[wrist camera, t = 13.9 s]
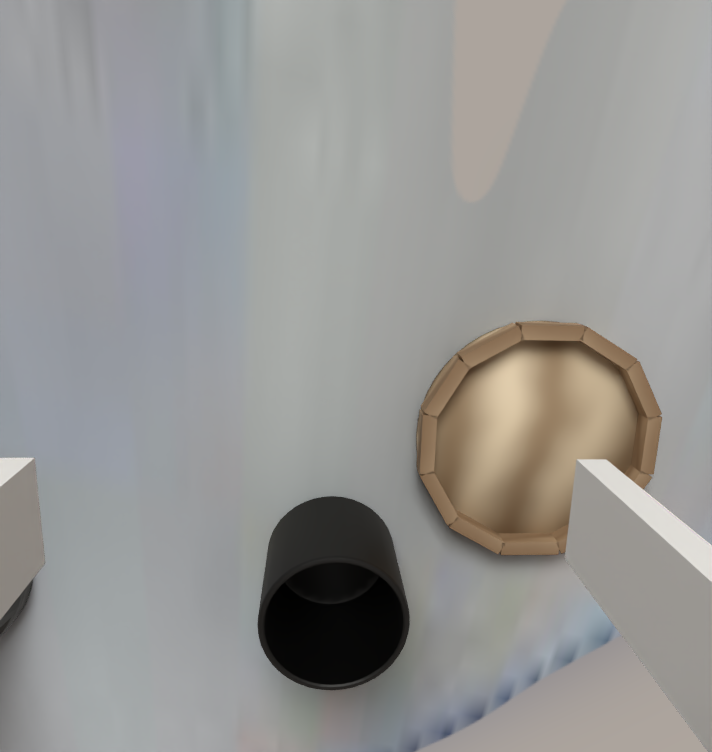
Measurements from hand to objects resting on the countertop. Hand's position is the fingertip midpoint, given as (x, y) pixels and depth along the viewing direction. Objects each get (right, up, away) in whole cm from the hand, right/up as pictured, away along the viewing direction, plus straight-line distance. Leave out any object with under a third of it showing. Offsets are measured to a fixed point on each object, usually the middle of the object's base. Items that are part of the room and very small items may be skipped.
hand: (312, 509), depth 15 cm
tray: (+14, -1, +31) cm, 34 cm away
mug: (0, -11, +33) cm, 34 cm away
